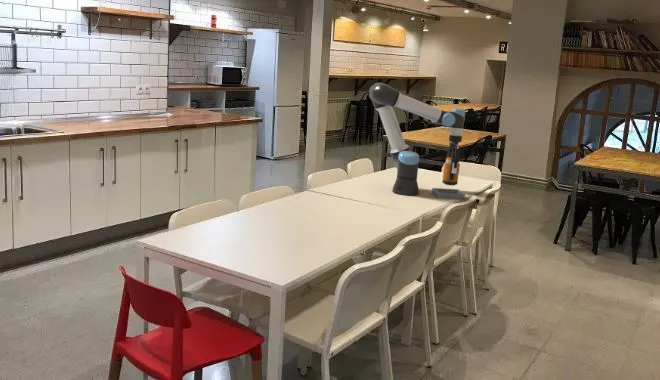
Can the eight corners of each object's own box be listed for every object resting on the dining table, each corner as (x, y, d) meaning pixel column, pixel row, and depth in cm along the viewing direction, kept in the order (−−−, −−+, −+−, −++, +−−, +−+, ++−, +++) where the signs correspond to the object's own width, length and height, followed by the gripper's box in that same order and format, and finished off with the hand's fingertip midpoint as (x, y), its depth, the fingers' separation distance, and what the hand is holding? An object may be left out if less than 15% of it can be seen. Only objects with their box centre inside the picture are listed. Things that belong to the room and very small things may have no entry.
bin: (437, 198, 348) (438, 192, 348) (431, 193, 361) (432, 188, 361) (464, 199, 350) (465, 194, 349) (457, 194, 363) (458, 189, 362)
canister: (456, 183, 377) (460, 151, 373) (458, 187, 366) (462, 153, 362) (441, 182, 377) (445, 149, 374) (442, 185, 367) (447, 152, 363)
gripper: (467, 137, 355) (463, 175, 360) (456, 133, 378) (452, 168, 382) (455, 136, 354) (450, 174, 359) (444, 132, 377) (440, 167, 381)
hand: (451, 171), depth 370 cm, fingers closed on canister, 10 cm apart
